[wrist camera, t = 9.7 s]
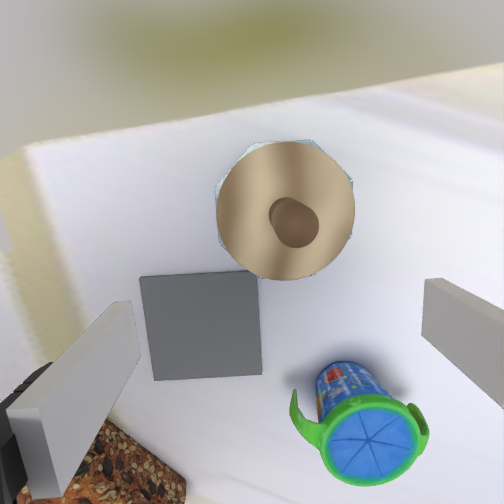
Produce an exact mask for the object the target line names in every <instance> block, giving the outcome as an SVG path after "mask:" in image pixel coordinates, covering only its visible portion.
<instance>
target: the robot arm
mask: <svg viewBox="0 0 504 504" xmlns="http://www.w3.org/2000/svg"><path fill="white" fill-rule="evenodd" d="M421 335H422V336H423V337H424V338H425V339H426V340H427V341H428V342H430V343H431V344H432V345H433V346H434V347H435V348H436V349H437V350H438V351H440V352H441V353H442V354H443V355H444V356H445V357H446V358H447V359H448V360H450V361H451V362H452V363H453V364H454V365H455V366H456V367H457V368H458V369H460V370H461V371H462V372H463V373H464V374H465V375H466V376H467V377H468V378H469V379H471V380H472V381H473V382H474V383H475V384H476V385H477V386H478V387H479V388H481V389H482V390H483V391H484V392H485V393H486V394H487V395H488V396H489V397H491V398H492V399H493V400H494V401H495V402H496V403H497V404H498V405H499V406H501V407H502V408H503V409H504V310H502V309H500V308H499V307H497V306H495V305H493V304H491V303H489V302H487V301H485V300H483V299H481V298H479V297H477V296H476V295H474V294H472V293H470V292H468V291H466V290H464V289H462V288H460V287H458V286H456V285H454V284H452V283H451V282H449V281H447V280H445V279H443V278H434V279H425V284H424V300H423V316H422V332H421ZM140 357H141V356H140V350H139V344H138V338H137V332H136V326H135V320H134V315H133V309H132V303H131V301H128V302H114V303H113V304H112V305H111V306H110V307H109V308H108V309H107V310H106V311H105V312H104V313H103V314H102V315H101V316H100V317H99V318H98V319H97V320H96V321H95V322H94V323H93V324H92V325H91V326H90V327H89V328H88V329H87V330H86V331H85V332H84V333H83V334H82V335H81V336H80V337H79V338H78V339H77V340H76V341H75V342H74V343H73V344H72V345H71V346H70V347H69V348H68V349H67V350H66V351H65V352H64V353H63V354H62V355H61V356H60V357H59V358H58V359H57V360H56V361H55V362H49V363H48V364H46V365H44V366H43V367H41V368H39V369H38V370H36V371H34V372H33V373H32V374H31V375H30V376H29V377H28V378H27V379H26V380H25V381H24V382H23V384H20V385H19V386H18V387H17V388H16V389H15V390H14V392H13V393H11V394H10V395H9V396H8V397H7V398H6V399H5V400H4V401H2V402H1V403H0V504H19V503H18V500H17V495H18V494H19V492H20V491H21V489H22V488H23V487H24V485H25V484H26V482H27V483H28V486H29V490H30V493H31V496H32V499H45V498H57V497H62V496H63V494H64V492H65V490H66V489H67V487H68V485H69V483H70V482H71V480H72V478H73V476H74V474H75V473H76V471H77V469H78V467H79V466H80V464H81V462H82V460H83V458H84V457H85V455H86V453H87V451H88V450H89V448H90V446H91V444H92V442H93V441H94V439H95V437H96V435H97V434H98V432H99V430H100V428H101V426H102V425H103V423H104V421H105V419H106V418H107V416H108V414H109V412H110V410H111V409H112V407H113V405H114V403H115V401H116V400H117V398H118V396H119V394H120V393H121V391H122V389H123V387H124V385H125V384H126V382H127V380H128V378H129V377H130V375H131V373H132V371H133V369H134V368H135V366H136V364H137V362H138V361H139V359H140Z"/></svg>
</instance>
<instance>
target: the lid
mask: <svg viewBox="0 0 504 504" xmlns="http://www.w3.org/2000/svg"><path fill="white" fill-rule="evenodd" d="M354 216H355V201H354V195H353V191H352V188H351V185H350V182H349V180H348V178H347V176H346V174H345V173H344V171H343V170H342V168H341V167H340V166H339V165H338V164H337V163H336V161H335V160H333V159H332V158H331V157H330V156H329V155H327V154H326V153H324V152H323V151H321V150H319V149H317V148H315V147H313V146H310V145H307V144H304V143H298V142H277V143H272V144H268V145H264V146H262V147H260V148H257V149H255V150H253V151H252V152H250V153H248V154H247V155H246V156H244V157H243V158H242V159H241V160H239V161H238V162H237V163H236V165H235V166H234V167H233V168H232V169H231V171H230V172H229V173H228V175H227V176H226V178H225V180H224V182H223V184H222V187H221V189H220V192H219V196H218V200H217V208H216V219H217V226H218V230H219V234H220V237H221V239H222V241H223V244H224V245H225V247H226V249H227V250H228V252H229V253H230V255H231V256H232V257H233V258H234V259H235V260H236V261H237V262H238V263H239V264H240V265H241V266H242V267H244V268H245V269H247V270H248V271H250V272H252V273H254V274H256V275H258V276H261V277H264V278H268V279H272V280H296V279H300V278H304V277H307V276H310V275H312V274H314V273H316V272H318V271H320V270H321V269H323V268H324V267H326V266H327V265H328V264H330V263H331V262H332V261H333V260H334V259H335V258H336V257H337V256H338V254H339V253H340V252H341V251H342V249H343V248H344V246H345V244H346V242H347V240H348V239H349V236H350V234H351V231H352V228H353V223H354Z"/></svg>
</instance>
